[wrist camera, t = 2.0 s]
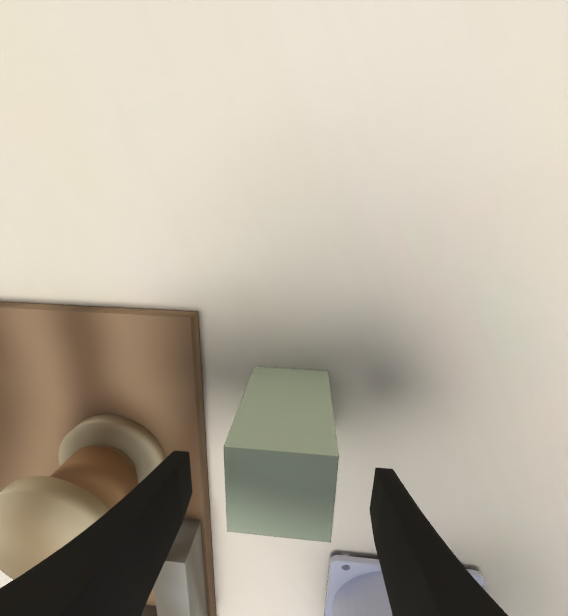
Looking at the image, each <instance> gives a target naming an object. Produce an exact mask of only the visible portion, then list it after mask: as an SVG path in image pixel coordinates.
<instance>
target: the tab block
mask: <svg viewBox="0 0 568 616" xmlns="http://www.w3.org/2000/svg"><path fill="white" fill-rule="evenodd" d="M338 460H339V453H338V446H337V438H336V430H335V422H334V414H333V406H332V399H331V391H330V383H329V375H328V371H320V370H304V369H288V368H272V367H256V366H255V367H254V369H253V372H252V374H251V377H250V380H249V382H248V385H247V387H246V390H245V392H244V395H243V398H242V400H241V403H240V405H239V408H238V411H237V413H236V416H235V418H234V421H233V424H232V426H231V429H230V431H229V434H228V437H227V439H226V442H225V444H224V468H225V492H226V516H227V532H236V533H246V534H255V535H265V536H274V537H284V538H293V539H303V540H312V541H322V542H331V535H332V524H333V513H334V503H335V492H336V481H337V471H338Z"/></svg>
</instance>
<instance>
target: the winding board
mask: <svg viewBox="0 0 568 616" xmlns="http://www.w3.org/2000/svg"><path fill="white" fill-rule="evenodd" d="M174 450H175V451H187V452H189V456H190V468H191V480H192V492H193V493H192V496H191V499H190V502H189V505H188V508H187V511H186V514H185V517H184V520H183V522H182V525H181V527H180V529H179V531H178V534H177V536H176V538H175V540H174V543H173V545H172V547H171V549H170V551H169V554H168V556H167V558H166V560H165V562H164V565H163V567H162V569H161V571H160V573H159V576H158V578H157V580H156V582H155V585H154V587H153V589H152V591H151V593H150V596H149V598H148V600H147V603H146V605H145V608H144V610H143V612H142V615H141V616H216V606H215V589H214V573H213V556H212V539H211V522H210V506H209V489H208V472H207V456H206V439H205V422H204V405H203V389H202V372H201V355H200V338H199V322H198V312H194V311H175V310H155V309H135V308H115V307H95V306H75V305H55V304H35V303H15V302H0V570H1V571H2V572H4V573H5V574H6V575H8V576H9V577H10V578H12V579H13V580H14V579H16V578H18V577H19V576H21V575H22V574H24V573H25V572H27V571H28V570H30V569H31V568H32V567H34V566H35V565H37V564H38V563H40V562H41V561H43V560H44V559H46V558H47V557H49V556H50V555H52V554H53V553H55V552H56V551H57V550H59V549H60V548H62V547H63V546H64V545H66V544H67V543H68V542H70V541H71V540H72V539H74V538H75V537H76V536H78V535H79V534H80V533H82V532H83V531H84V530H85V529H87V528H88V527H89V526H91V525H92V524H93V523H94V522H96V521H97V520H98V519H99V518H100V517H102V516H103V515H104V514H105V513H106V512H107V511H109V510H110V509H111V508H112V507H113V506H114V505H116V504H117V503H118V502H119V501H120V500H121V499H123V498H124V497H125V496H126V495H127V494H128V493H129V492H130V491H131V490H133V489H134V488H135V487H136V486H137V485H138V484H139V483H140V482H141V481H142V480H143V479H144V478H146V477H147V476H148V475H149V474H150V473H151V472H152V471H153V470H154V469H155V468H156V467H157V466H158V465H159V464H160V463H161V462H162V461H163V460H164V459H165V458H166V457H168V456H169V455H170V454H171V453H172V452H173V451H174Z"/></svg>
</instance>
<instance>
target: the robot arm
mask: <svg viewBox="0 0 568 616" xmlns="http://www.w3.org/2000/svg"><path fill="white" fill-rule="evenodd" d="M192 493H193V492H192V480H191V468H190V456H189V452H187V451H175V450H174V451H173V452H172V453H171V454H170V455H169V456H168V457H166V458H165V459H164V460H163V461H162V462H161V463H160V464H159V465H158V466H157V467H156V468H155V469H154V470H153V471H152V472H151V473H150V474H149V475H148V476H147V477H146V478H144V479H143V480H142V481H141V482H140V483H139V484H138V485H137V486H136V487H135V488H134V489H133V490H131V491H130V492H129V493H128V494H127V495H126V496H125V497H124V498H123V499H121V500H120V501H119V502H118V503H117V504H116V505H114V506H113V507H112V508H111V509H110V510H109V511H107V512H106V513H105V514H104V515H103V516H102V517H100V518H99V519H98V520H97V521H96V522H94V523H93V524H92V525H91V526H89V527H88V528H87V529H85V530H84V531H83V532H82V533H80V534H79V535H78V536H76V537H75V538H74V539H72V540H71V541H70V542H68V543H67V544H66V545H64V546H63V547H62V548H60V549H59V550H57V551H56V552H55V553H53V554H52V555H50V556H49V557H47V558H46V559H44V560H43V561H41V562H40V563H38V564H37V565H35V566H34V567H32V568H31V569H30V570H28V571H27V572H25V573H24V574H22V575H21V576H19V577H18V578H16V579H14V580H13V581H11V582H10V583H8V584H6V585H5V586H3V587H2V588H0V616H141V615H142V612H143V610H144V608H145V605H146V603H147V600H148V598H149V596H150V593H151V591H152V589H153V587H154V585H155V582H156V580H157V578H158V576H159V573H160V571H161V569H162V567H163V565H164V562H165V560H166V558H167V556H168V554H169V551H170V549H171V547H172V545H173V543H174V540H175V538H176V536H177V534H178V531H179V529H180V527H181V525H182V522H183V520H184V517H185V514H186V511H187V508H188V505H189V502H190V499H191V496H192ZM370 515H371V522H372V529H373V535H374V542H375V546H376V550H377V554H378V558H379V559H371V558H362V557H353V556H344V555H334V556H332V557H331V558H330V563H329V573H328V584H327V594H326V605H325V615H324V616H508V615H507V614H506V613H505V612H504V611H503V610H502V609H501V608H500V607H499V605H498V604H497V603H496V602H495V601H494V600H493V599H492V598H491V597H490V596H489V595H488V594H487V592H486V591H485V590H484V589H483V585H484V578H483V576H482V574H481V573H480V572H479V571H477V570H471V569H466V568H465V567H464V566H463V565H462V563H461V562H460V561H459V560H458V559H457V557H456V556H455V555H454V554H453V552H452V551H451V550H450V549H449V547H448V546H447V545H446V544H445V542H444V541H443V540H442V538H441V537H440V536H439V535H438V533H437V532H436V531H435V529H434V528H433V527H432V525H431V524H430V522H429V521H428V520H427V518H426V517H425V516H424V514H423V513H422V512H421V510H420V509H419V507H418V506H417V504H416V503H415V502H414V500H413V499H412V497H411V496H410V494H409V493H408V491H407V490H406V488H405V487H404V485H403V484H402V482H401V481H400V479H399V478H398V476H397V475H396V473H395V472H394V470H393V469H386V468H376V469H375V476H374V483H373V490H372V497H371V504H370Z"/></svg>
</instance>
